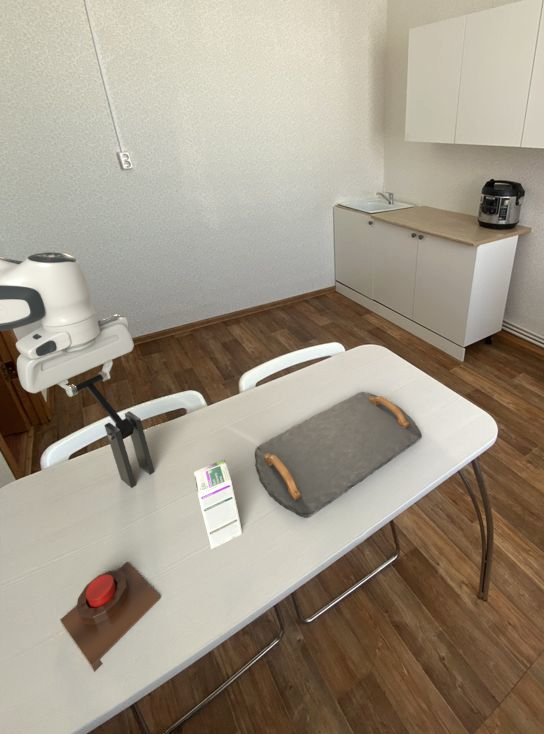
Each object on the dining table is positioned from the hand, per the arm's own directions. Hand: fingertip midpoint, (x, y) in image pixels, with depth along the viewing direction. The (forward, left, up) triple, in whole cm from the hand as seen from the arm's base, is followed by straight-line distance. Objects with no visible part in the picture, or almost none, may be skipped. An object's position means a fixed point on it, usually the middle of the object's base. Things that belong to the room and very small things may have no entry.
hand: (89, 386), depth 83 cm
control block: (+34, -16, -20) cm, 42 cm away
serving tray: (+45, +30, -20) cm, 57 cm away
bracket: (+12, 0, -20) cm, 23 cm away
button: (+32, -16, -17) cm, 39 cm away
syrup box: (+38, +2, -20) cm, 43 cm away
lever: (+5, 0, -4) cm, 7 cm away
